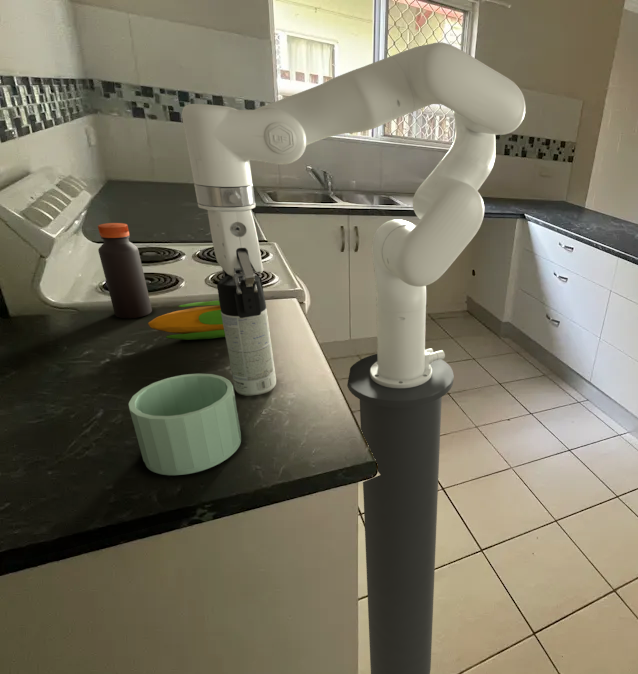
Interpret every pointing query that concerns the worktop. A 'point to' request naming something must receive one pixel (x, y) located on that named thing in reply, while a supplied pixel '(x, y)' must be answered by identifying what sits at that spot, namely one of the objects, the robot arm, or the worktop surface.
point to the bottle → (123, 272)
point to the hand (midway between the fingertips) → (243, 307)
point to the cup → (186, 423)
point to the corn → (192, 322)
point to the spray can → (247, 341)
